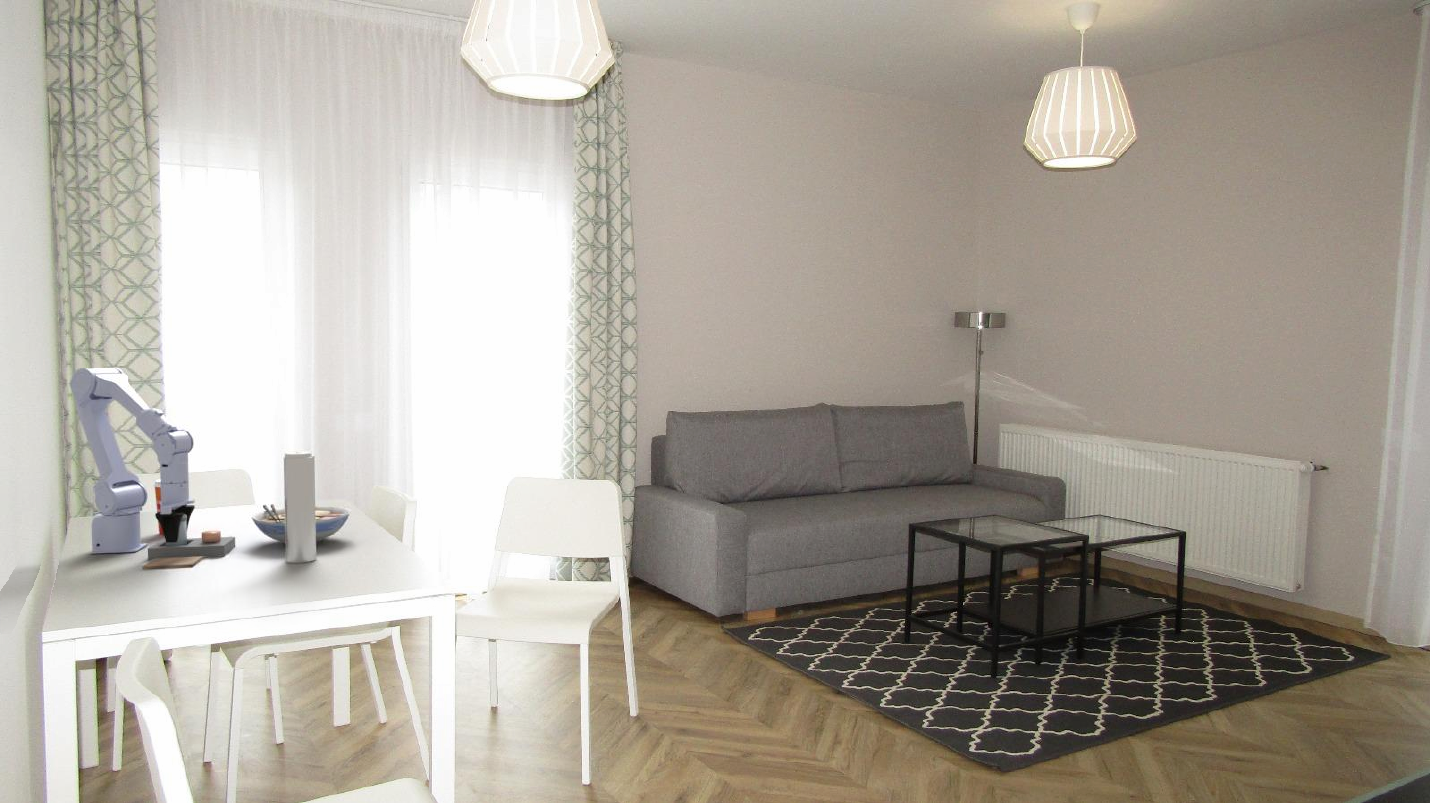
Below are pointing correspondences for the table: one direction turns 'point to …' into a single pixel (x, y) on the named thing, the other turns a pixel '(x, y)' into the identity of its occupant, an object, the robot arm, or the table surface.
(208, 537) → the plunger
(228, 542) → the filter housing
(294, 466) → the air filter
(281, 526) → the ramen bowl
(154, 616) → the table surface
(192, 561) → the walnut pad
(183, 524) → the cylinder
